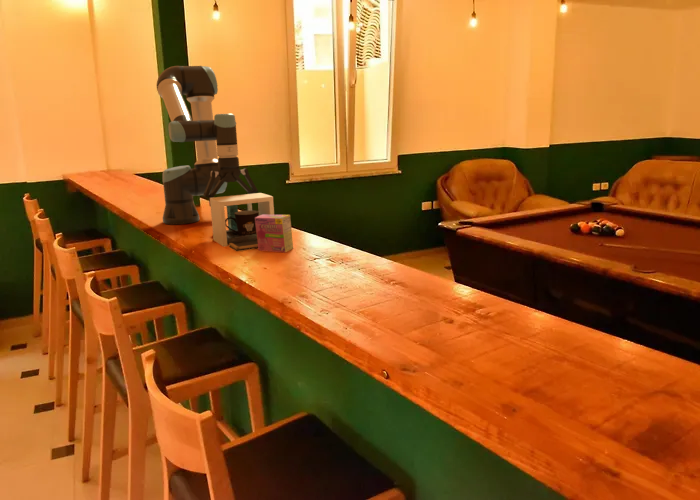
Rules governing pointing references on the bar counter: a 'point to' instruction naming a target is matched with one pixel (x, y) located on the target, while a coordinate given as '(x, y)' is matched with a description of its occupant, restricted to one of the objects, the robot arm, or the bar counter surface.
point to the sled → (233, 236)
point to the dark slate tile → (244, 246)
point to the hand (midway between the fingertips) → (232, 213)
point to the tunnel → (219, 202)
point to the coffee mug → (245, 222)
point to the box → (274, 233)
